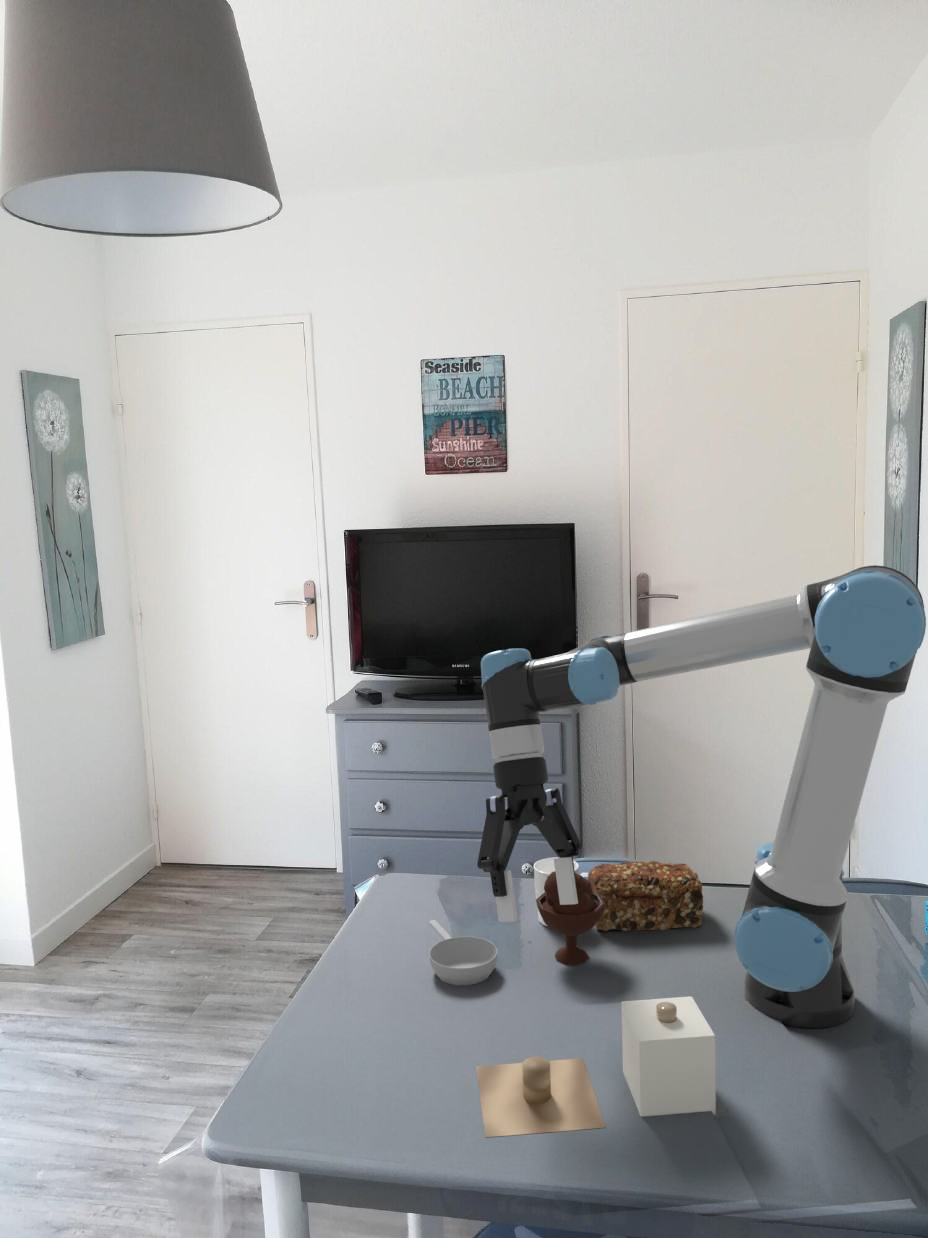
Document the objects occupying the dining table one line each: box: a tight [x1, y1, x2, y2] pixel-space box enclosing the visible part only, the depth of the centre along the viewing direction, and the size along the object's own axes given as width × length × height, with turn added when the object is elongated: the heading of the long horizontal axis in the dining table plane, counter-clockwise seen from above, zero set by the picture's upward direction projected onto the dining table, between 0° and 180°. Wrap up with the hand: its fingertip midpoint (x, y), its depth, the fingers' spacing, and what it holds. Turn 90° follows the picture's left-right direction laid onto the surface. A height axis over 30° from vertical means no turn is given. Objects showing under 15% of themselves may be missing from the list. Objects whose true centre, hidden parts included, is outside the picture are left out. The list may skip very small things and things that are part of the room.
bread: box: [587, 860, 704, 932], centre depth 167 cm, size 19×11×10 cm, turn 91°
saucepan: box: [428, 919, 498, 986], centre depth 154 cm, size 11×18×4 cm, turn 25°
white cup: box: [533, 856, 580, 928], centre depth 168 cm, size 8×8×10 cm
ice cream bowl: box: [535, 871, 605, 966], centre depth 154 cm, size 11×11×15 cm
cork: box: [521, 1056, 551, 1104], centre depth 117 cm, size 3×3×4 cm
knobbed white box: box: [621, 996, 716, 1117], centre depth 117 cm, size 9×9×11 cm
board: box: [475, 1057, 607, 1139], centre depth 117 cm, size 14×14×1 cm
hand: (539, 912), depth 132 cm, fingers open, 13 cm apart
